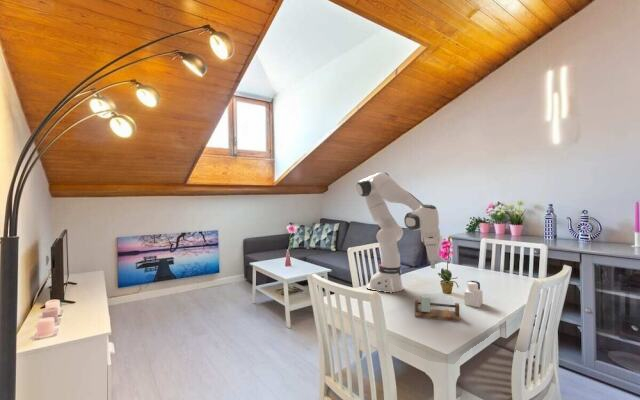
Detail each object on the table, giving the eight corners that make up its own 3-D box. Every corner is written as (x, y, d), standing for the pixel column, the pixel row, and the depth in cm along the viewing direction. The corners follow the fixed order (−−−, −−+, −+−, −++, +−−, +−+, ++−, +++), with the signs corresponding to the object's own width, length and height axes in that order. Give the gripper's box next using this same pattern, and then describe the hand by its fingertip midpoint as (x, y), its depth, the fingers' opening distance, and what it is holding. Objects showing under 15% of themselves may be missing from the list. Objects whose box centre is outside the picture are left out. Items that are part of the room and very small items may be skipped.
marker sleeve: (421, 311, 150) (421, 297, 149) (421, 307, 154) (421, 293, 154) (430, 312, 148) (429, 297, 148) (429, 308, 153) (429, 294, 153)
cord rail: (414, 317, 149) (414, 303, 149) (415, 310, 157) (415, 298, 157) (460, 321, 143) (459, 307, 143) (458, 314, 150) (458, 301, 150)
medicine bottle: (468, 300, 168) (467, 278, 167) (482, 303, 163) (482, 281, 163) (464, 304, 162) (464, 282, 162) (479, 307, 158) (479, 284, 157)
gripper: (423, 234, 163) (425, 260, 163) (424, 241, 143) (426, 271, 144) (436, 233, 161) (438, 259, 162) (438, 241, 141) (440, 271, 142)
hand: (432, 265), depth 153 cm, fingers open, 8 cm apart
